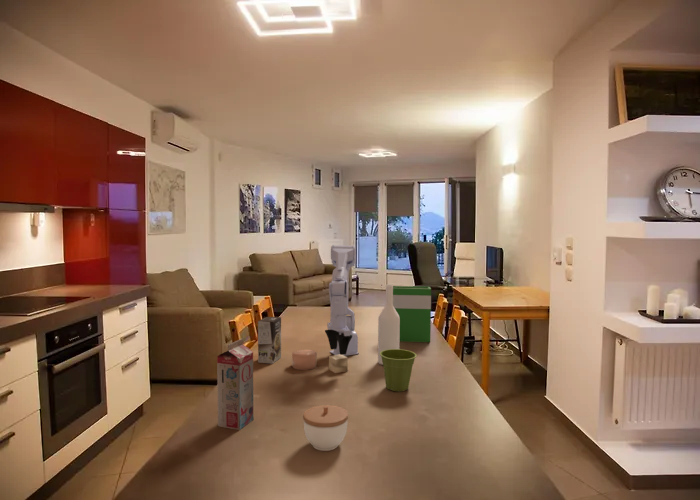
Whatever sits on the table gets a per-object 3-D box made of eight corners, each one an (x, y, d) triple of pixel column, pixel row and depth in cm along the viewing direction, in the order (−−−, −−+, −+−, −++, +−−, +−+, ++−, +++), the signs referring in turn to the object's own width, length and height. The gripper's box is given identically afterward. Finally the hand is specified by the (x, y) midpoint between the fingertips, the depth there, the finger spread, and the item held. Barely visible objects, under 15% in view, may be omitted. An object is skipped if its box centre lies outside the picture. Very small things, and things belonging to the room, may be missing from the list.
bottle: (402, 361, 179) (403, 284, 178) (395, 367, 172) (396, 286, 170) (382, 358, 183) (383, 282, 181) (374, 364, 175) (375, 285, 174)
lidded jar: (303, 435, 117) (303, 398, 116) (346, 434, 118) (346, 397, 117) (302, 456, 106) (302, 416, 106) (349, 455, 107) (349, 415, 107)
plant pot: (392, 397, 143) (392, 361, 142) (372, 385, 153) (372, 351, 152) (423, 391, 148) (424, 356, 147) (402, 379, 159) (403, 347, 158)
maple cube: (341, 367, 172) (341, 354, 172) (347, 371, 167) (347, 357, 167) (328, 369, 169) (328, 355, 169) (335, 373, 165) (335, 359, 165)
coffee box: (273, 364, 175) (273, 321, 174) (257, 362, 176) (257, 320, 175) (281, 357, 184) (281, 316, 183) (266, 356, 185) (266, 316, 184)
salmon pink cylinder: (310, 361, 179) (310, 348, 179) (320, 367, 171) (320, 354, 171) (288, 364, 175) (288, 351, 175) (297, 371, 167) (297, 357, 167)
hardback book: (390, 341, 210) (391, 288, 208) (390, 337, 217) (391, 285, 216) (430, 342, 208) (431, 288, 207) (429, 338, 215) (429, 286, 214)
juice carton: (253, 419, 126) (252, 339, 125) (239, 430, 120) (239, 345, 118) (232, 416, 128) (231, 337, 127) (218, 426, 122) (217, 343, 121)
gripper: (319, 311, 172) (319, 348, 172) (337, 319, 159) (337, 358, 160) (337, 310, 175) (336, 345, 176) (355, 317, 162) (355, 355, 163)
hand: (338, 351), depth 168 cm, fingers open, 7 cm apart
